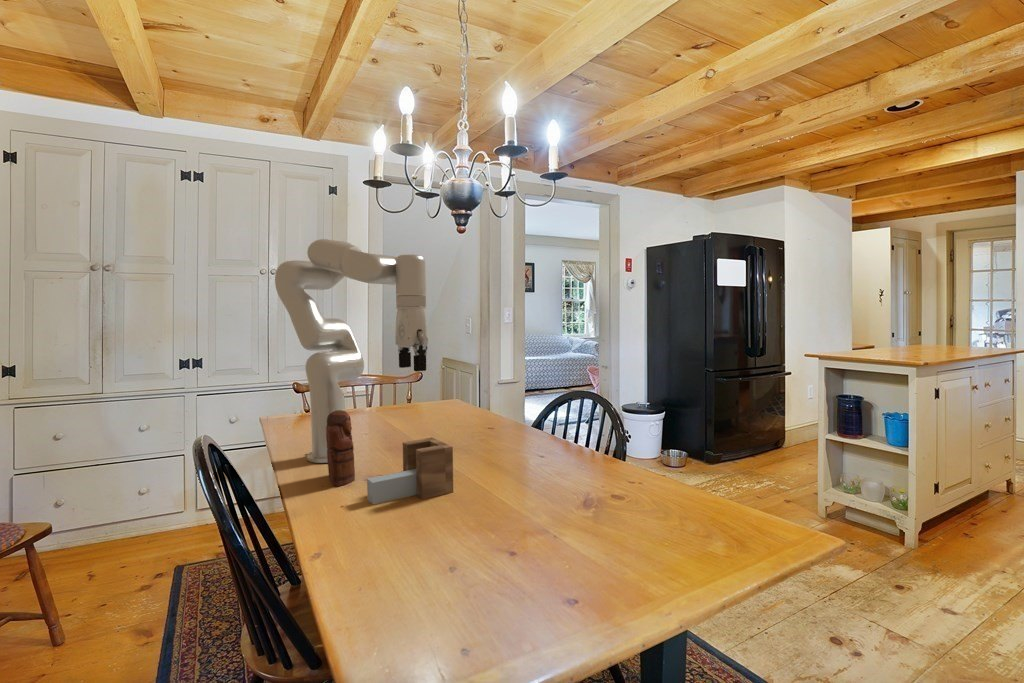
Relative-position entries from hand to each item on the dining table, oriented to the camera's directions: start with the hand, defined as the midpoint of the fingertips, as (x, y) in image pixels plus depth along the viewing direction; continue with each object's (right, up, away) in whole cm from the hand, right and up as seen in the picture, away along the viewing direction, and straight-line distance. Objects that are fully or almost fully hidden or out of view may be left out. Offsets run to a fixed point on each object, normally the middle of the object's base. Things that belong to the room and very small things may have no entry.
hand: (412, 369), depth 134 cm
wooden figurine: (-18, -29, -1) cm, 34 cm away
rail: (-1, -29, -13) cm, 32 cm away
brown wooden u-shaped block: (+6, -29, -9) cm, 31 cm away
